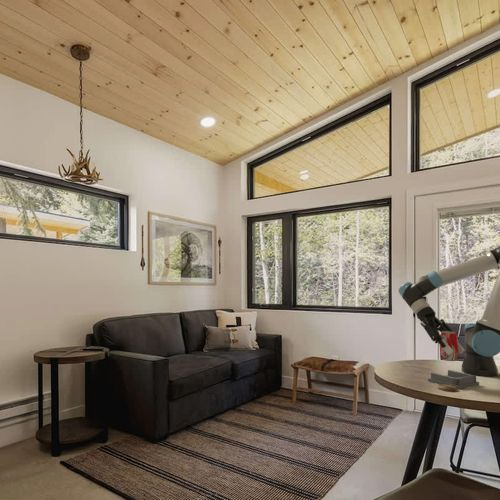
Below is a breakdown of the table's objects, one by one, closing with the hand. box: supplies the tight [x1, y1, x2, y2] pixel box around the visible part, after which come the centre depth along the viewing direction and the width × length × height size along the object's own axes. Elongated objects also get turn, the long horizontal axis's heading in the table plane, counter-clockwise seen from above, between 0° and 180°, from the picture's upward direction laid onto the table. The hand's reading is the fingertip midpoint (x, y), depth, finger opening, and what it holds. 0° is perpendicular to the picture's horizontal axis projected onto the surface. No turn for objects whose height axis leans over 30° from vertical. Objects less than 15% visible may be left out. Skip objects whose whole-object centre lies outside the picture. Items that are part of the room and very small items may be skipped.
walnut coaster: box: [437, 384, 458, 393], centre depth 161 cm, size 7×7×1 cm
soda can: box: [439, 330, 459, 362], centre depth 172 cm, size 7×7×12 cm
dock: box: [427, 369, 480, 390], centre depth 170 cm, size 14×14×4 cm
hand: (456, 352), depth 169 cm, fingers closed on soda can, 7 cm apart
